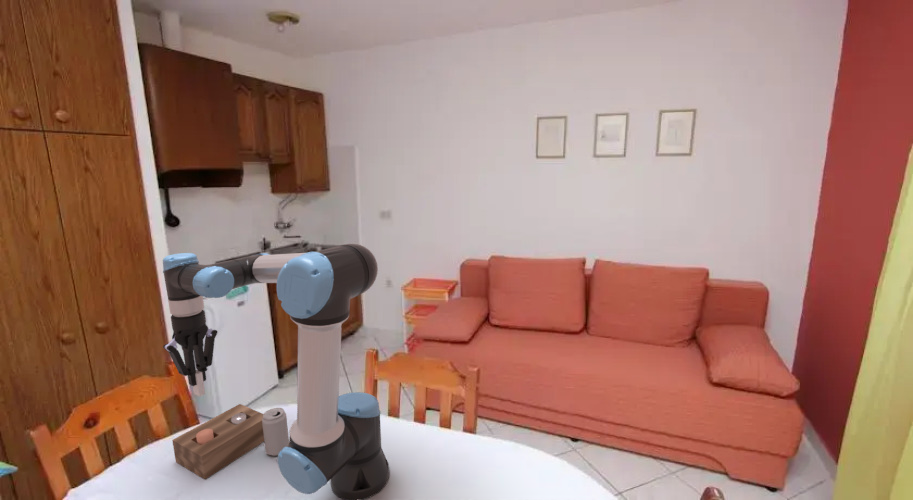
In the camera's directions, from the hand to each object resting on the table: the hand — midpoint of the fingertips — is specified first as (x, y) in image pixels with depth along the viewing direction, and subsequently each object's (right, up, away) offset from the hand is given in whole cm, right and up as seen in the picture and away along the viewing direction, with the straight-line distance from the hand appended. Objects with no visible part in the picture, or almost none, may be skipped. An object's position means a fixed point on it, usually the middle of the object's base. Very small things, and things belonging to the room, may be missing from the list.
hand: (199, 393), depth 111 cm
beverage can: (+18, -19, +8) cm, 28 cm away
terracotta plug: (0, -18, +4) cm, 18 cm away
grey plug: (+5, -17, +12) cm, 21 cm away
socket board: (+2, -19, +8) cm, 21 cm away
